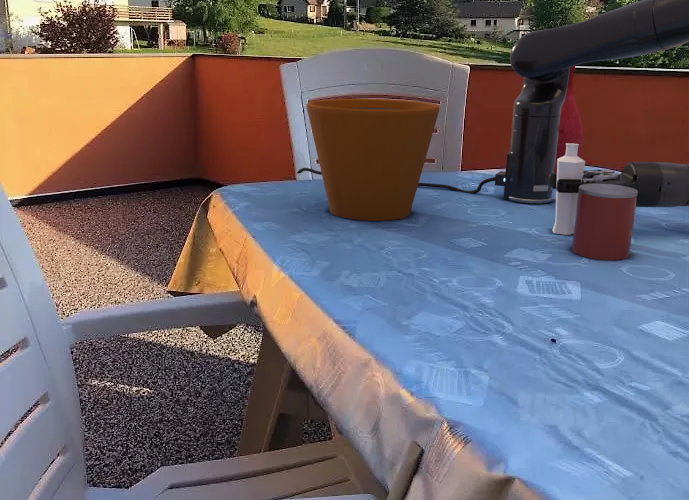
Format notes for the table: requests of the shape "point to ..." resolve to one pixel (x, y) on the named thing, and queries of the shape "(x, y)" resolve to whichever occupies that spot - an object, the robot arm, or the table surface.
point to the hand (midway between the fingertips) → (553, 182)
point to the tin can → (604, 221)
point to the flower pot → (371, 153)
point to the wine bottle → (569, 123)
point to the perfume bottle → (567, 202)
